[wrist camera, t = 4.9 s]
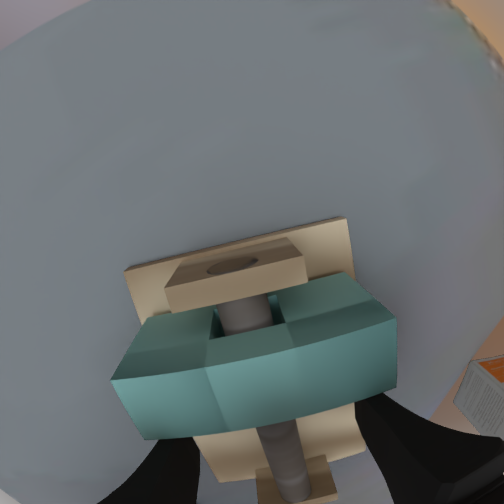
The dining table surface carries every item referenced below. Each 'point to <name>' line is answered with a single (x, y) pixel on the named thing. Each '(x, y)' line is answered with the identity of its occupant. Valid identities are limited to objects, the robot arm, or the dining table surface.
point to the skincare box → (483, 396)
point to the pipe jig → (253, 318)
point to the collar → (259, 362)
